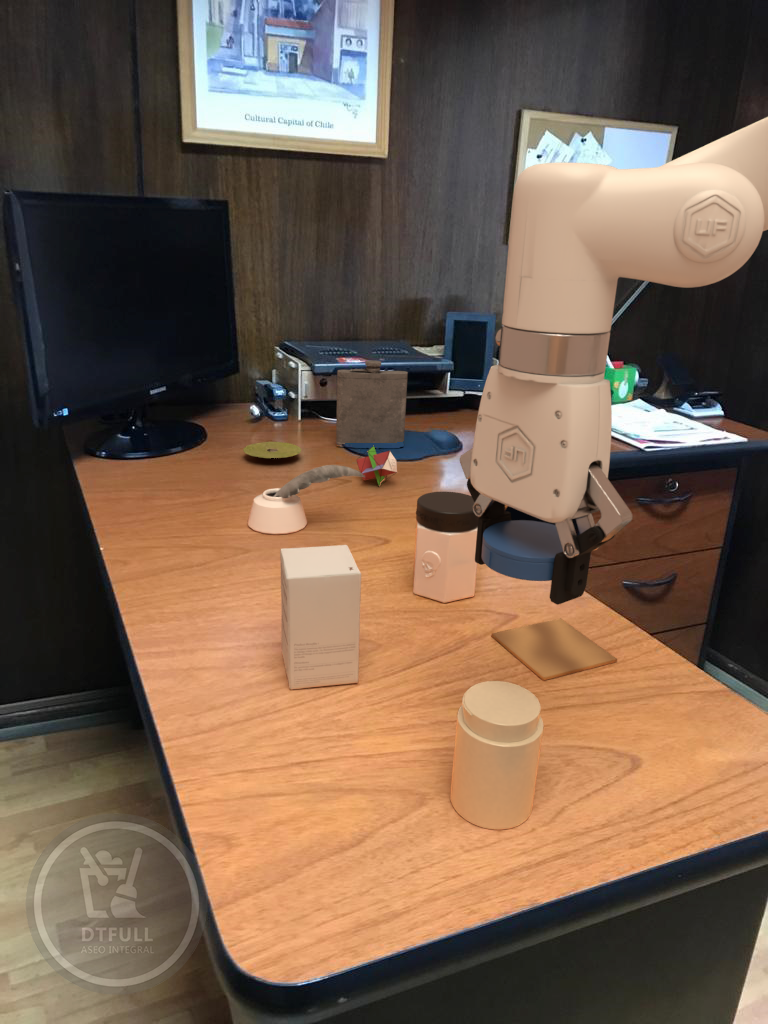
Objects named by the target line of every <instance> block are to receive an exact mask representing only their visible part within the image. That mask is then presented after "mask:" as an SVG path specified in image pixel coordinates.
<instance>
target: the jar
mask: <svg viewBox="0 0 768 1024" xmlns="http://www.w3.org/2000/svg"><path fill="white" fill-rule="evenodd" d="M474 503H475V502H474V500H473V498H472V496H471V494H470V495H469V494H466V493H462V492H457V491H431V492H428V493H424V494H421V495H420V496H419V497H418V498H417V499H416V509H415V519H416V520H415V535H414V536H415V537H414V551H413V554H414V556H413V569H412V570H413V571H412V592H413V595H417V596H420V597H423V598H426V599H430V600H433V601H436V602H440V603H443V604H445V603H451V602H456V601H459V600H464V599H468V598H469V599H470V598H473V597H474V596H475V593H476V583H477V571H478V563H476V562H475V551H476V539H477V528H478V518H479V517H478V516H476V515H475V514H474V512H473V505H474Z"/></svg>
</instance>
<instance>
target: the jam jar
mask: <svg viewBox="0 0 768 1024" xmlns="http://www.w3.org/2000/svg"><path fill="white" fill-rule="evenodd" d="M461 700H462V701H461V703H462V704H461V705H460V707H459V708H458V710H457V714H456V725H455V726H456V727H455V737H454V746H453V747H454V748H453V758H452V768H451V769H452V771H451V779H450V780H451V782H450V791H449V794H450V795H449V799H450V802H451V805H452V807H453V809H454V810H455V812H456V813H457V814H458V815H459V816H460V817H461V818H462V819H464V820H465V821H467V822H468V823H470V824H472V825H475V826H476V827H480V828H483V829H488V830H495V831H497V830H498V831H501V830H510V829H513V828H516V827H519V826H520V825H522V824H524V823H525V822H526V821H527V820H528V819H529V818H530V816H531V815H532V812H533V808H534V807H533V806H534V800H535V793H536V786H537V780H538V779H537V778H538V771H539V765H540V764H539V763H540V756H541V748H542V743H543V734H544V728H545V727H544V721H543V717H542V716H541V711H542V707H541V702H540V700H539V698H538V697H537V696H536V695H535V694H534V693H533V692H532V691H531V690H530V689H527V688H525V687H524V686H522V685H519V684H516V683H513V682H509V681H504V680H488V681H487V680H486V681H481V682H478V683H476V684H473V685H472V686H471V687H469V688H468V689H467V690H466V691H465V692H464V694H463V696H462V698H461Z"/></svg>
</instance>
